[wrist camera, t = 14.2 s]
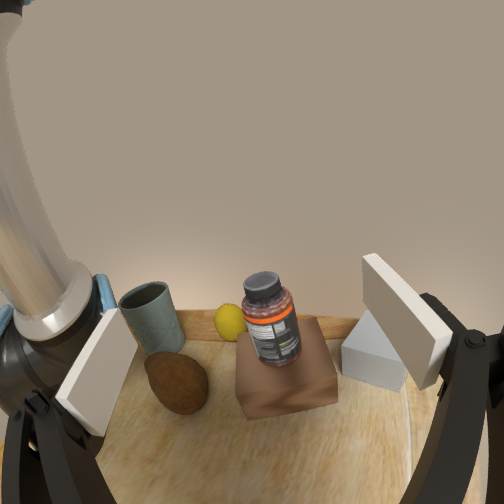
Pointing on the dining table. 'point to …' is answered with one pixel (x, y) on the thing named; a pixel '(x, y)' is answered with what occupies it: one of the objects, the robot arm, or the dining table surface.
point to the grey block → (372, 356)
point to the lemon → (230, 321)
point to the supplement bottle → (271, 319)
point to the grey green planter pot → (153, 317)
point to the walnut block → (286, 377)
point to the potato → (177, 381)
